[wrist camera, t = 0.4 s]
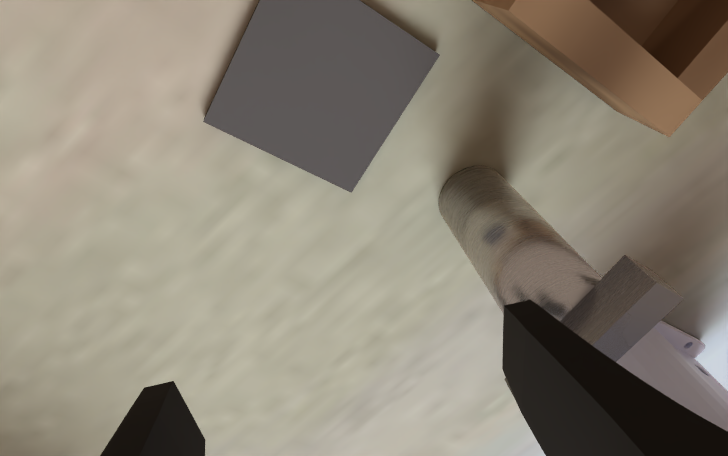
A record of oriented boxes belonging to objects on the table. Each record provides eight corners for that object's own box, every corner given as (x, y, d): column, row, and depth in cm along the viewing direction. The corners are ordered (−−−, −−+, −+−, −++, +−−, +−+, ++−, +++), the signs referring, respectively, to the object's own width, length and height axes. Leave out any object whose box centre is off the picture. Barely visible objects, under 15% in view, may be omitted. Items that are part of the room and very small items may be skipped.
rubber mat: (436, 52, 17) (439, 54, 16) (350, 187, 19) (351, 192, 19) (283, -52, 14) (284, -51, 14) (204, 117, 17) (203, 121, 16)
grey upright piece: (534, 165, 20) (704, 309, 12) (463, 254, 22) (572, 428, 14) (482, 132, 19) (633, 270, 11) (412, 229, 21) (499, 405, 13)
